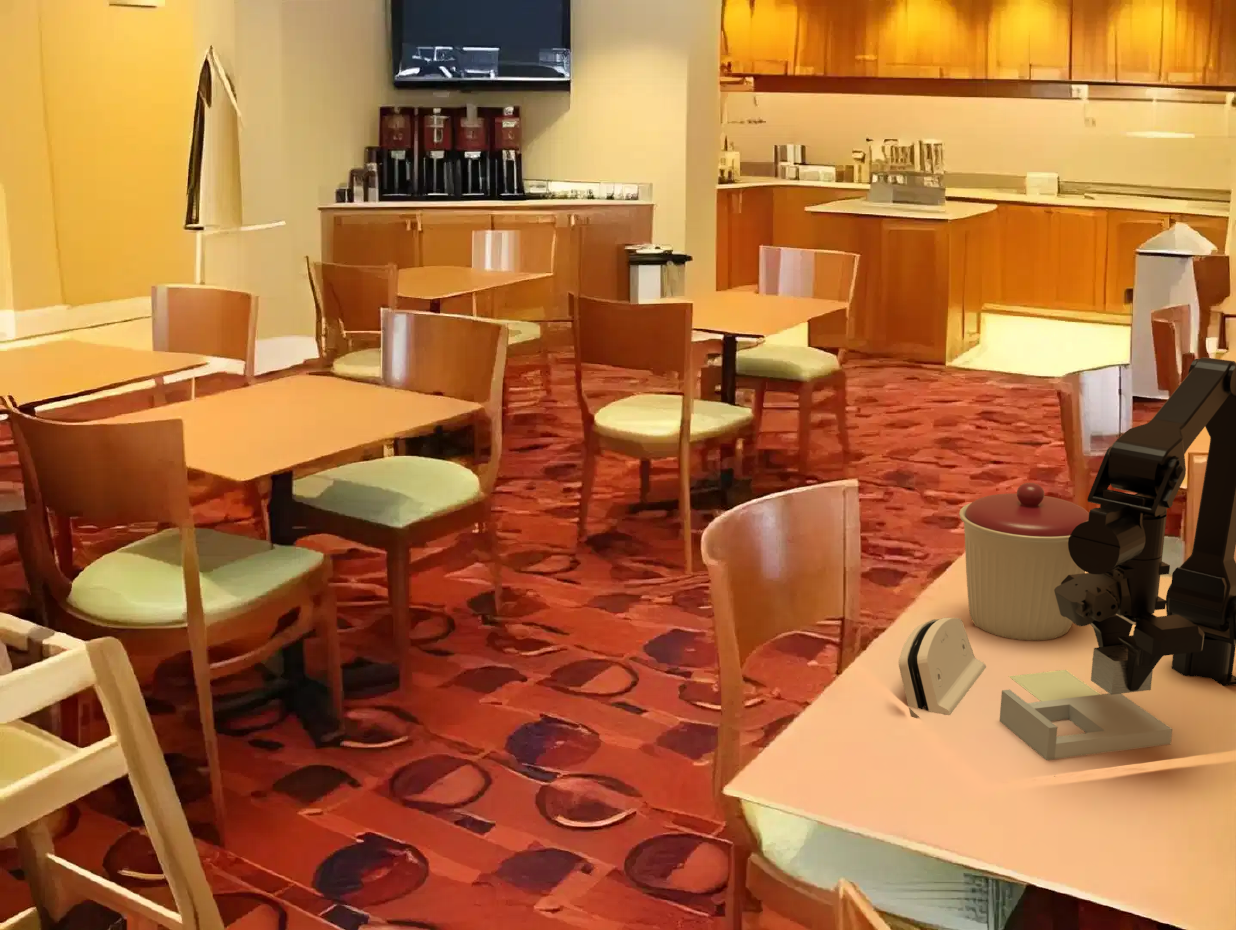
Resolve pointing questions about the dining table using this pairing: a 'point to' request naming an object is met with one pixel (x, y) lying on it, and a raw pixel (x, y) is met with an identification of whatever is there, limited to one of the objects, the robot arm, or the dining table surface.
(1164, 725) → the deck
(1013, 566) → the canister
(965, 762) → the dining table surface
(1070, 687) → the pad
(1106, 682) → the block
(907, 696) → the beige half-round holder
